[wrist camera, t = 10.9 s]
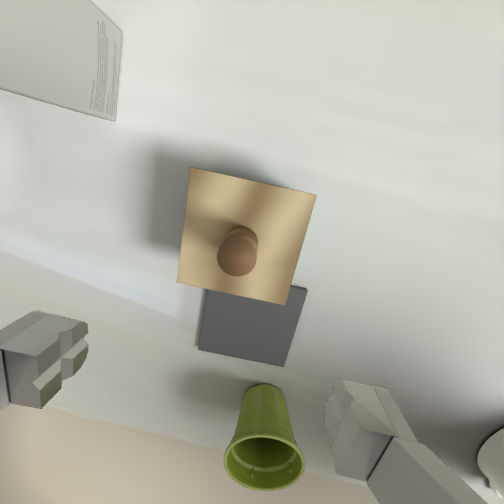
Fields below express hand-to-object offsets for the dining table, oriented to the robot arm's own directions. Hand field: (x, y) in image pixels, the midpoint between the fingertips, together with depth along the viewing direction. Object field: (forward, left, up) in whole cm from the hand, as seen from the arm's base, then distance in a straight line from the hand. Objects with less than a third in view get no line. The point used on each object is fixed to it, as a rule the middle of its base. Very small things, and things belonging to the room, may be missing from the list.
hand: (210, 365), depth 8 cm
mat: (-3, +12, -21) cm, 25 cm away
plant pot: (-7, +25, -21) cm, 34 cm away
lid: (0, 0, -16) cm, 16 cm away
